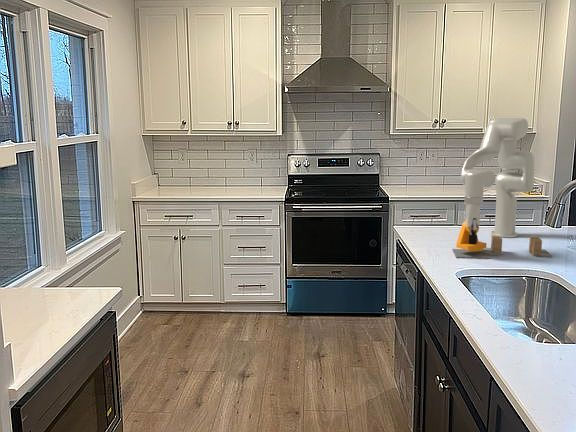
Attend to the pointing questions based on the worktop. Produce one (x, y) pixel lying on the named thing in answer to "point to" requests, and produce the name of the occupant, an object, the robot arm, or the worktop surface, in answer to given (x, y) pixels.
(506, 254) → the worktop surface
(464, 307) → the worktop surface
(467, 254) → the mat
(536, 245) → the vise jaws
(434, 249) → the worktop surface
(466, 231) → the bracket
